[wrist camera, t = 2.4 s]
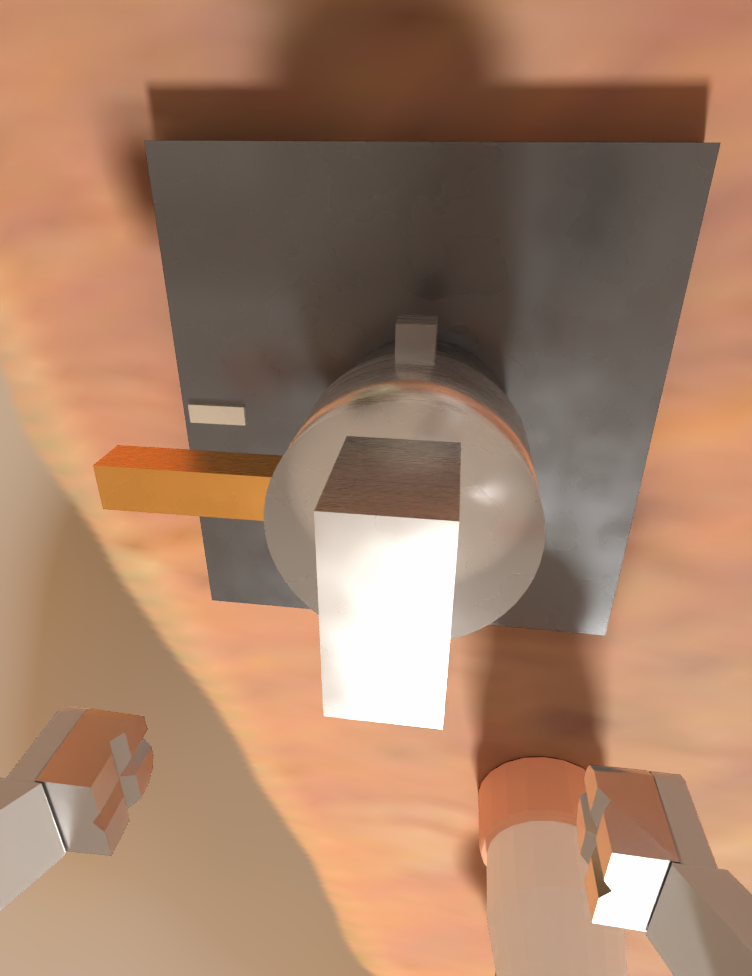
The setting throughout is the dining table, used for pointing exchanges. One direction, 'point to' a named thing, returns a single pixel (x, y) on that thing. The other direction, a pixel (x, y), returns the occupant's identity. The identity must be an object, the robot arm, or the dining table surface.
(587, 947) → the pepper shaker
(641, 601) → the dining table surface
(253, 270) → the post plate
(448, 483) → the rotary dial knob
